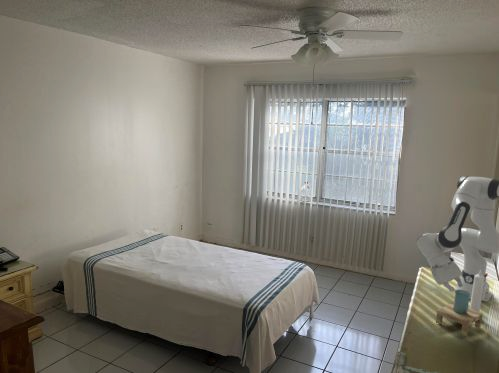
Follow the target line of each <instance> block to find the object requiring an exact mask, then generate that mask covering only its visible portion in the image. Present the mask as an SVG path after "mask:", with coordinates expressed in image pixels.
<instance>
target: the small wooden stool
mask: <svg viewBox="0 0 499 373" xmlns="http://www.w3.org/2000/svg"><path fill="white" fill-rule="evenodd" d="M453 308H454V301H453V302H452V303H449V304H447V305H445V306H442V307H440V308H439V309H437V312H436V319H435V324H436V323H438V324H437V325H439V324H441V323H442V324H443V319H444V318H447V319H448V320H451V321H453V322H456V323H458V324H460V325H462V326H461V332H460V335H461V336H464V337H468V333H469V326H470V325H472V324H474V328H477V329H480V328H481V326H482V320H483V313H482V312H477V311H474V310H472V309H470V307H468V311H467V314H466V315H462V314H458V313H456V312H454V311H453ZM442 324H441V325H442Z"/></svg>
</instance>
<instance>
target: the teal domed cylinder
mask: <svg viewBox="0 0 499 373" xmlns="http://www.w3.org/2000/svg"><path fill="white" fill-rule="evenodd" d="M469 297H470V293H469V292H467V291H464V290H456V291H455V295H454V301H453V302H454V308H453V311H454V312H456V313H458V314H462V315H466V314H467V311H468V308H469V305H470V299H469Z"/></svg>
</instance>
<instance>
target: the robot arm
mask: <svg viewBox="0 0 499 373" xmlns="http://www.w3.org/2000/svg"><path fill="white" fill-rule="evenodd" d="M456 188H457V190H456V191H455V194H454V196H453V199H452V201H451V205H450V207H451V209H452V211H453V212H452V214H451V216H450V219H449V221H448V223H447V225H445V226H444V227H443V228H442V229H441V230H439V232H438V233H437V232H436V233H431V232H424V233H423V234H422V235H420V236H419V237H418V238H417V240H416V245H417V247H418V249H419V251H420V252H421V253H422V255H423V256H424V257H425V258H426V261H427V263H428V264H429V266H430V271H431V275H432V277H433V279H434V281H435V282H436V284H437V285H439V286H441V285H444V287H446V289H448V291H449V292H451V293H452V292H453V291H455V292H456V290H464V291H467V292H469V293H470V297H469V300H471V296H472V289H473V283H474V276H475V275H477V274H478V273H479V272H480V270H481V273H482V275H483V276H484V277H485V280H484V286H483V293H482V299H481V302H490V300H491V299H492V297H493V295H494V293H493V292H492V291H490V283H488V281H487V277H488V272H487V265H488V262H487V259H486V258H485V257H483V256H482V255H481V254H480V251H482V252H485V253H489V254H499V232H498V231H497V228H496V226H495V212H496V199H498V198H499V179H496V178H489V177H485V176H484V177H483V176H469V175H464V176H463V175H462V176H461V177H460V178H459V179H458V181H457V184H456ZM469 215H470V219H471V221H472V223H474V224H475V225H476V226H477V227H478V229H473V228H469V227H468V228H467V227H463V226H464V225H465V222H466V219H467V217H468V216H469ZM457 246H459V247H460V248H461V250H462V252H463V257H464V259H463V260H464V262H463V269H462V270H461V269H460V267H459V265H458V264H457V263H456V262H455V259H454V257H451V256H448V255H446V254H445V253H447V252H452V250H454V249H455V248H456V247H457ZM453 280H455V282H456V283H457V285H456V287H453V286H451V284H450V282H451V281H453Z"/></svg>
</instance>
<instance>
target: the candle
mask: <svg viewBox="0 0 499 373" xmlns="http://www.w3.org/2000/svg"><path fill="white" fill-rule="evenodd" d="M484 280H485V277H484V276H483V275H482V273H481V270H480V272H479V273H478V274H477V275H475V276H474V283H473V289H472V296H471V299H470V301H469V309H472V310H474V311H477V312H479V313H481V305H482V301H481V299H482V293H483V286H484Z"/></svg>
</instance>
